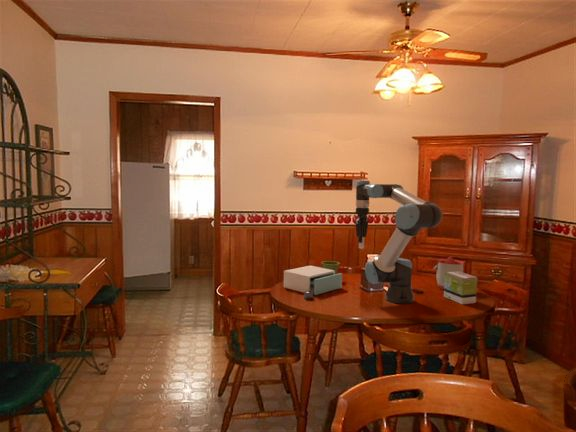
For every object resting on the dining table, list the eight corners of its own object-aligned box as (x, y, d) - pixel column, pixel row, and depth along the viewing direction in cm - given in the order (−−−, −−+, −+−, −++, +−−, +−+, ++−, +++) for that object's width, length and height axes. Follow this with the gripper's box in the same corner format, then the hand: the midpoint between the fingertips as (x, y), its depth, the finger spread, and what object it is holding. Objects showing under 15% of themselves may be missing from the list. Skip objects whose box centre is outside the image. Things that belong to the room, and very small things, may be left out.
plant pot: (340, 282, 284) (340, 264, 283) (321, 281, 284) (321, 264, 283) (338, 278, 296) (338, 261, 295) (320, 277, 296) (320, 260, 295)
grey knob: (314, 298, 246) (315, 292, 246) (308, 300, 243) (309, 293, 242) (308, 296, 250) (308, 290, 249) (302, 298, 246) (302, 292, 246)
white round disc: (322, 283, 269) (322, 280, 269) (313, 286, 263) (313, 282, 263) (312, 281, 274) (312, 278, 274) (303, 283, 268) (303, 280, 268)
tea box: (442, 297, 254) (444, 271, 253) (457, 295, 258) (458, 270, 256) (461, 304, 240) (463, 277, 239) (476, 303, 244) (478, 276, 242)
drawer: (341, 287, 269) (342, 273, 268) (315, 294, 251) (316, 279, 251) (311, 280, 286) (311, 267, 285) (285, 286, 268) (285, 272, 267)
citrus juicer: (432, 284, 285) (434, 253, 283) (462, 287, 279) (464, 255, 277) (431, 289, 270) (433, 257, 268) (462, 293, 264) (464, 259, 262)
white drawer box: (334, 286, 273) (335, 270, 272) (308, 293, 255) (309, 276, 254) (309, 280, 286) (310, 265, 285) (283, 287, 269) (283, 270, 268)
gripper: (362, 208, 249) (361, 250, 251) (373, 207, 259) (372, 247, 261) (350, 207, 253) (349, 248, 255) (362, 206, 263) (361, 246, 265)
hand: (361, 248), depth 258 cm, fingers closed
